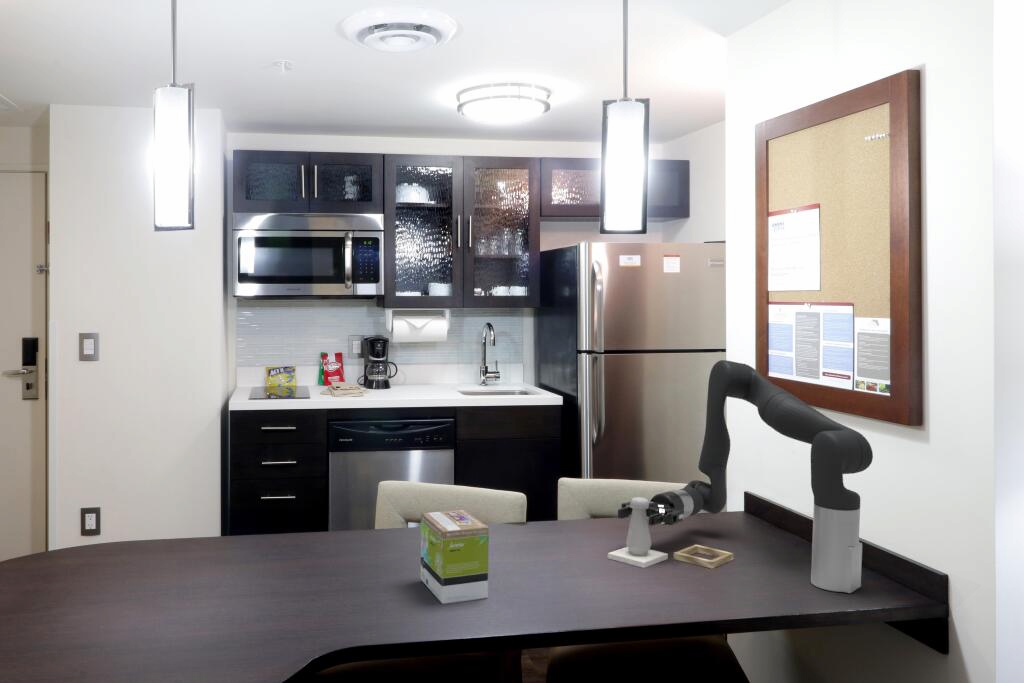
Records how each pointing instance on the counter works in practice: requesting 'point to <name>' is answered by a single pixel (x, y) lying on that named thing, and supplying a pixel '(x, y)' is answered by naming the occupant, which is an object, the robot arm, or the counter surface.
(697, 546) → the frame
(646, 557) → the coaster
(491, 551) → the counter surface
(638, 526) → the salt shaker
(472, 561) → the tea box
